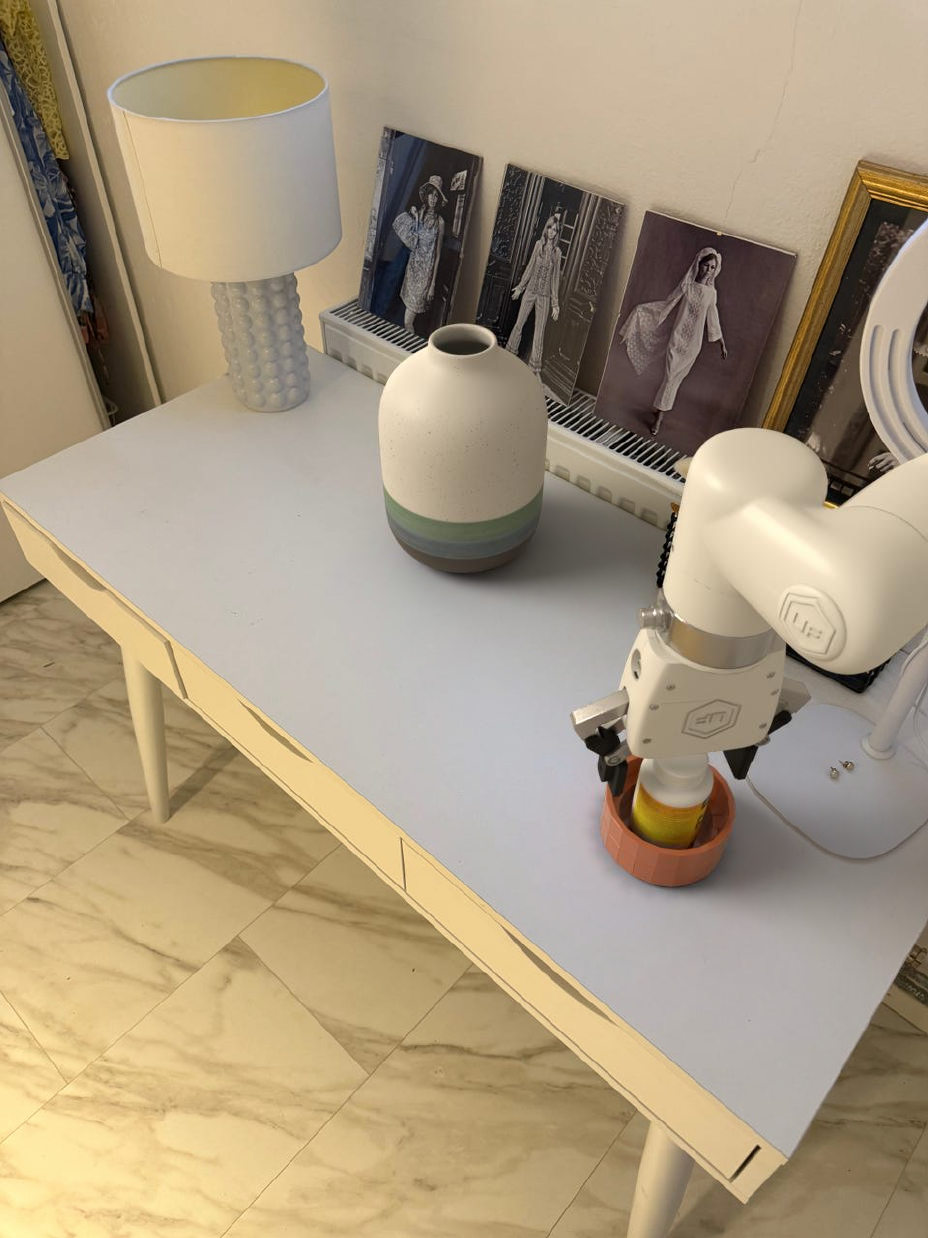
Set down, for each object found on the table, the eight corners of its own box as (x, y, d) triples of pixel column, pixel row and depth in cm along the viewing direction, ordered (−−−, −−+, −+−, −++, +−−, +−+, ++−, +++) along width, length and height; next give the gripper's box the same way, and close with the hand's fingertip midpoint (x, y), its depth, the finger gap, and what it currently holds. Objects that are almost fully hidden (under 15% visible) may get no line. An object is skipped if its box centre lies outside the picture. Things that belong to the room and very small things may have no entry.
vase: (551, 584, 98) (568, 381, 81) (390, 595, 97) (374, 392, 80) (527, 487, 110) (538, 293, 93) (384, 496, 109) (369, 301, 92)
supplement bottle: (697, 865, 74) (721, 791, 67) (626, 856, 75) (643, 781, 68) (695, 806, 78) (718, 730, 71) (628, 798, 79) (644, 722, 71)
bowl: (741, 879, 74) (755, 845, 70) (619, 897, 73) (626, 864, 69) (698, 776, 81) (709, 740, 77) (586, 791, 80) (592, 756, 76)
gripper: (601, 675, 55) (574, 830, 68) (872, 643, 57) (799, 799, 70) (570, 589, 61) (551, 747, 73) (821, 562, 63) (761, 720, 75)
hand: (672, 772), depth 71 cm, fingers open, 9 cm apart
